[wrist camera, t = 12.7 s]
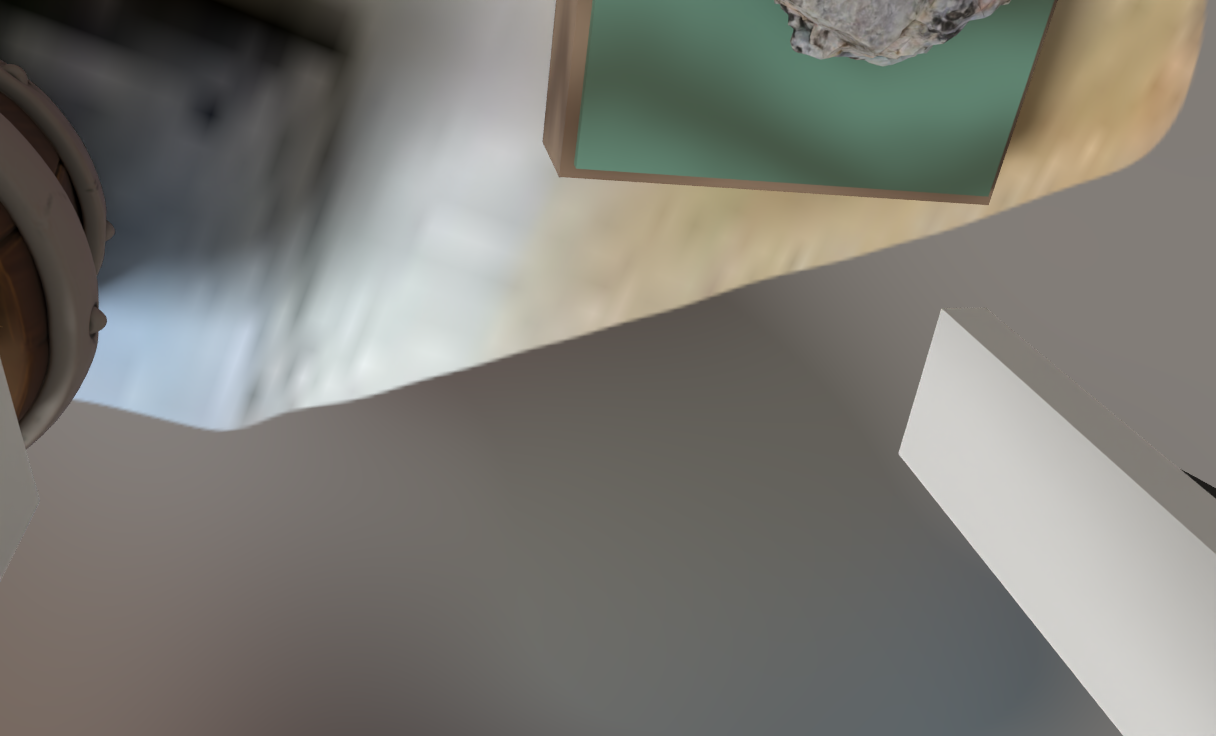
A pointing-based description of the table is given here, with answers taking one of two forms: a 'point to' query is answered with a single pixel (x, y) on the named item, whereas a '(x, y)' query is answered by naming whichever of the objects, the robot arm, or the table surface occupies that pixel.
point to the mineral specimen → (878, 26)
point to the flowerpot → (46, 254)
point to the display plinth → (782, 102)
